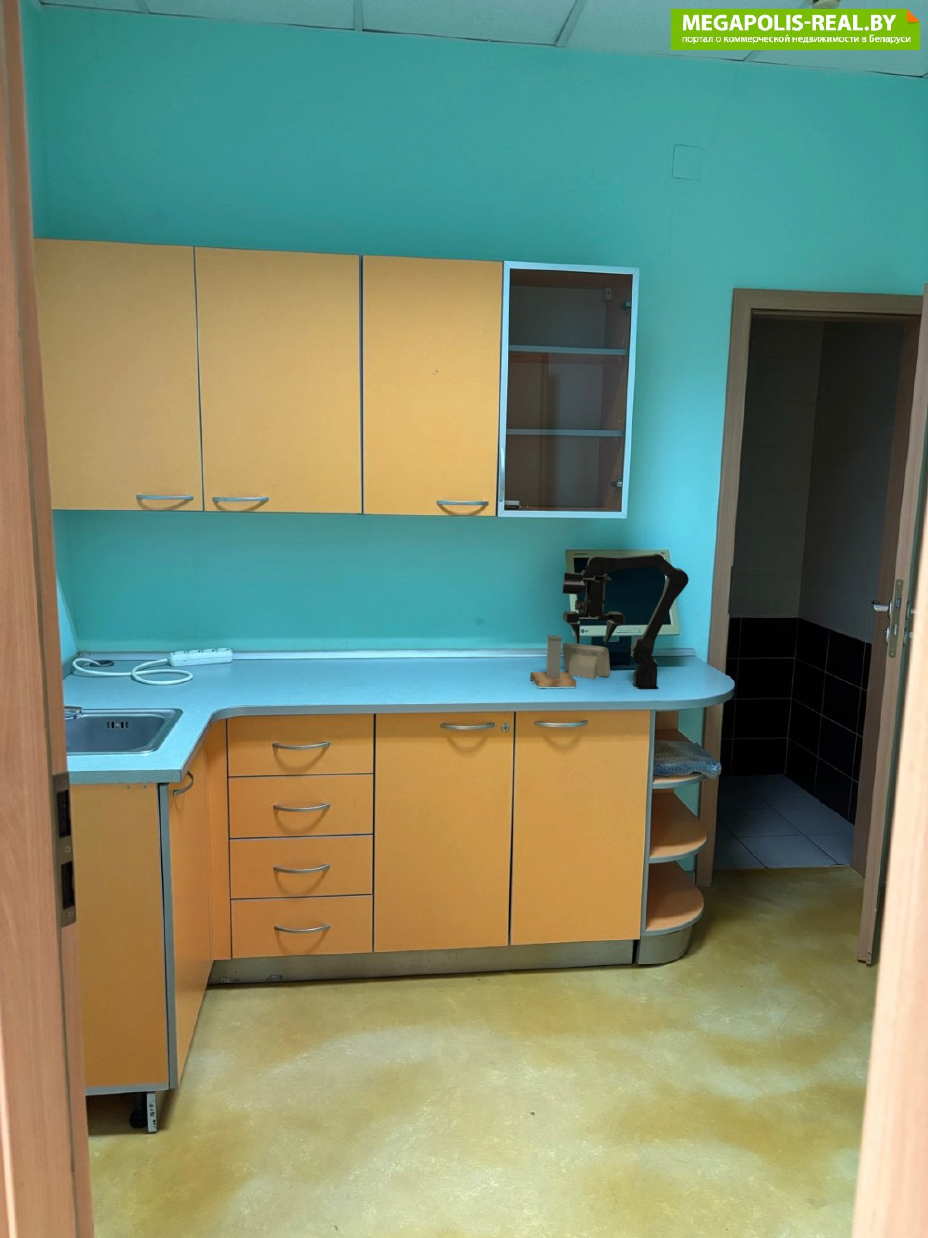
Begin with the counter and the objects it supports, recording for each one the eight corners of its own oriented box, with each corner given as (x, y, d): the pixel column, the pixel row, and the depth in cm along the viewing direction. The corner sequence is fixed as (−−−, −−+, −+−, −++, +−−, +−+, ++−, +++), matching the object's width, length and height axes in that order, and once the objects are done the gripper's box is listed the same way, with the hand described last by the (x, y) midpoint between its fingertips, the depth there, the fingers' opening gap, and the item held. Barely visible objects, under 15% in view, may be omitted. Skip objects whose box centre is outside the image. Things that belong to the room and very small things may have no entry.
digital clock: (612, 677, 308) (614, 645, 306) (598, 682, 301) (600, 649, 299) (571, 669, 318) (572, 638, 316) (556, 673, 311) (557, 642, 309)
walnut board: (566, 679, 304) (566, 671, 303) (575, 688, 292) (576, 680, 292) (530, 679, 302) (530, 672, 302) (538, 689, 290) (538, 681, 290)
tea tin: (559, 674, 299) (560, 635, 297) (560, 678, 294) (561, 638, 292) (545, 674, 299) (547, 635, 297) (546, 678, 294) (548, 638, 292)
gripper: (615, 591, 302) (612, 639, 305) (559, 590, 299) (557, 638, 302) (626, 597, 291) (623, 646, 294) (568, 596, 288) (565, 646, 291)
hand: (591, 644), depth 295 cm, fingers open, 9 cm apart
